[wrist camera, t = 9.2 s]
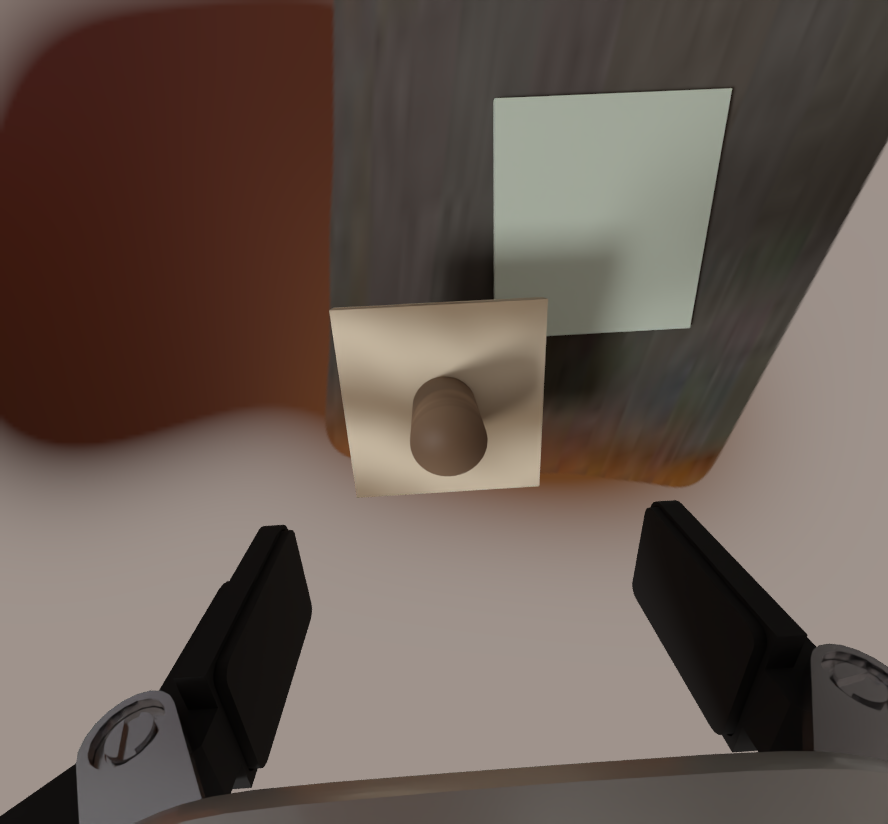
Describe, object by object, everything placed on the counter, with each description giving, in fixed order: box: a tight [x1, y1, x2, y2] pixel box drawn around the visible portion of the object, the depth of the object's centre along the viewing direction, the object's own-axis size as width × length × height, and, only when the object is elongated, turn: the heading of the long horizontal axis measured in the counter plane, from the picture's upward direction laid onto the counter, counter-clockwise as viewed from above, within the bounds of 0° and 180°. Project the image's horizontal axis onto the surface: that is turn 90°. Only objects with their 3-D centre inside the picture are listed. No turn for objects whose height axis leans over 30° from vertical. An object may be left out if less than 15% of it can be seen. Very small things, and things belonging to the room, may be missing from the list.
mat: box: [493, 88, 732, 336], centre depth 27 cm, size 14×14×1 cm
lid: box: [329, 297, 548, 498], centre depth 21 cm, size 11×11×6 cm
